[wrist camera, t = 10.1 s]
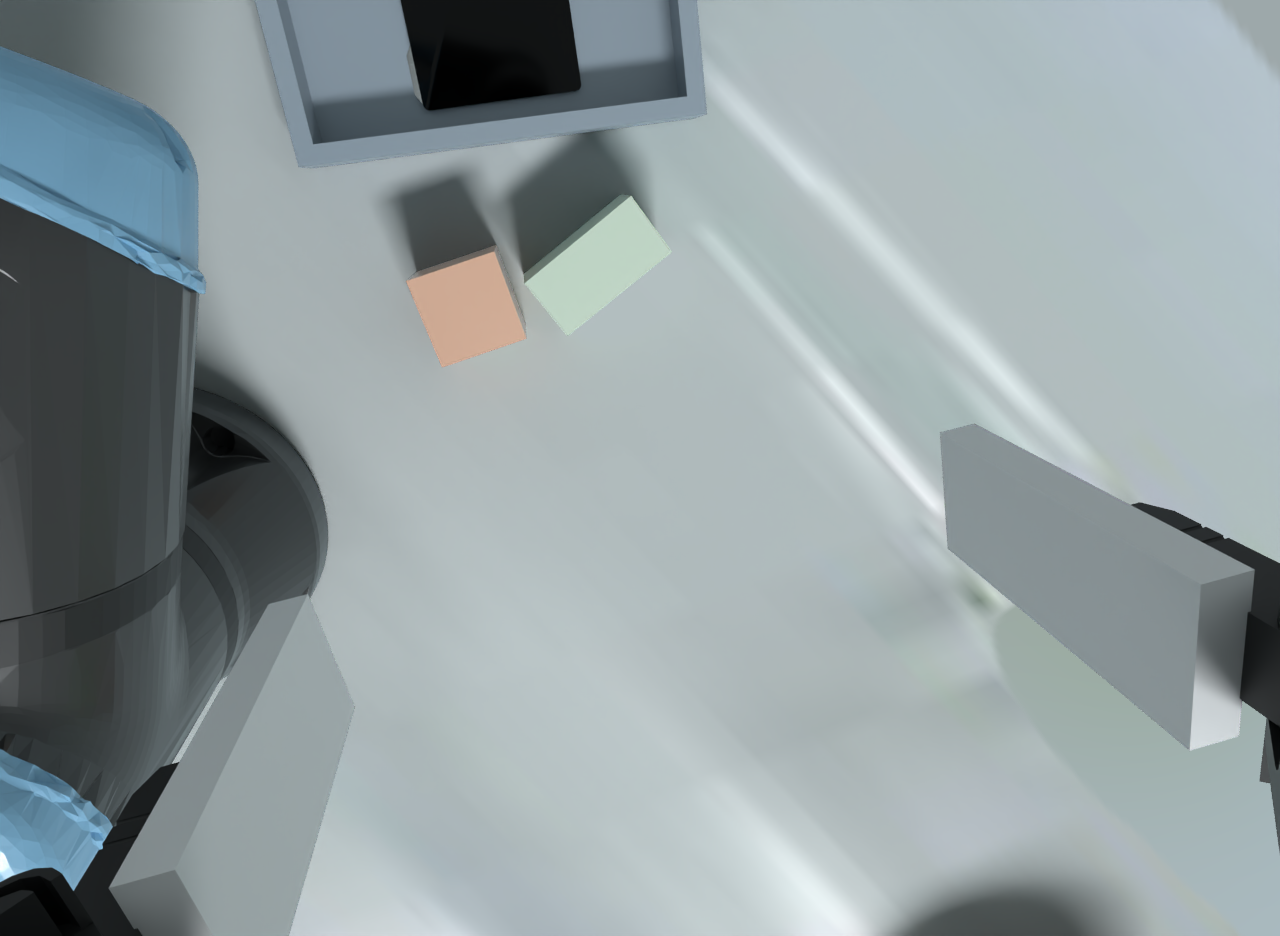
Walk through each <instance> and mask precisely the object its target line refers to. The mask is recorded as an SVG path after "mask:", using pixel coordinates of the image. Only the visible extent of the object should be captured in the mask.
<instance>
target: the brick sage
mask: <svg viewBox="0 0 1280 936" xmlns="http://www.w3.org/2000/svg"><path fill="white" fill-rule="evenodd" d="M671 252H672V251H671V250H670V249H669V247H668V246H667V244H666V243H665V242H664V240H663V239H662V238H661V236H660V235H659V233H658V232H657V231H656V229H655V228H654V226H653V225H652V224H651V222H650V221H649V220H648V218H647V217H646V215H645V214H644V213H643V211H642V210H641V208H640V207H639V206H638V204H637V203H636V202H635V200H634V199H633V197H632V196H630V195H621V194H620V195H619V196H618V197H617V198H615V199H614V200H613V201H612V202H611V203H609V204H608V205H607V206H606V207H604V208H603V209H602V210H601V211H600V212H598V213H597V214H596V215H595V216H594V217H592V218H591V219H590V220H589V221H587V222H586V223H585V224H584V225H583V226H581V227H580V228H579V229H578V230H577V231H575V232H574V233H573V234H572V235H570V236H569V237H568V238H567V239H566V240H564V241H563V242H562V243H561V244H560V245H558V246H557V247H556V248H555V249H553V250H552V251H551V252H550V253H549V254H547V255H546V256H545V257H544V258H542V259H541V260H540V261H539V262H538V263H536V264H535V265H534V266H533V267H532V268H530V269H529V270H528V271H527V272H525V273H524V284H525V285H526V286H527V287H528V289H529V290H530V291H531V292H532V293H533V295H534V296H535V297H536V298H537V300H538V301H539V302H540V303H541V304H542V306H543V307H544V308H545V309H546V311H547V312H548V313H549V314H550V315H551V317H552V318H553V319H554V320H555V322H556V323H557V324H558V325H559V326H560V328H561V329H562V330H563V331H564V333H565V334H566V335H567V336H569V335H570V334H571V333H572V332H574V331H575V330H576V329H577V328H579V327H580V326H581V325H582V324H583V323H585V322H586V321H587V320H588V319H590V318H591V317H592V316H593V315H595V314H596V313H597V312H598V311H600V310H601V309H602V308H603V307H605V306H606V305H607V304H608V303H609V302H611V301H612V300H613V299H614V298H616V297H617V296H618V295H619V294H621V293H622V292H623V291H624V290H626V289H627V288H628V287H629V286H631V285H632V284H633V283H634V282H636V281H637V280H638V279H639V278H640V277H642V276H643V275H644V274H645V273H647V272H648V271H649V270H650V269H652V268H653V267H654V266H655V265H657V264H658V263H659V262H660V261H662V260H663V259H664V258H665V257H666V256H668V255H669V254H670V253H671Z"/></svg>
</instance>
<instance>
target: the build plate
mask: <svg viewBox="0 0 1280 936" xmlns="http://www.w3.org/2000/svg"><path fill="white" fill-rule="evenodd" d="M401 4H402V9H403V14H404V19H405V23H406V28H407V33H408V37H409V42H410V46H409V50H408V53H407V61H408V65H409V70H410V75H411V79H412V84H413V89H414V93H415V96H416V97H417V98H418V99H419V100H420V102H421V103H422V104H423V107H424V108H425V109H426V110H428V111H435V110H442V109H450V108H457V107H464V106H472V105H479V104H487V103H494V102H502V101H509V100H516V99H524V98H531V97H539V96H546V95H554V94H561V93H569V92H576V91H578V90H579V89H580V88H581V79H580V72H579V65H578V58H577V51H576V44H575V38H574V31H573V24H572V17H571V10H570V3H569V0H401Z"/></svg>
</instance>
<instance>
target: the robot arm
mask: <svg viewBox="0 0 1280 936" xmlns="http://www.w3.org/2000/svg"><path fill="white" fill-rule="evenodd" d="M205 290H206V281H205V279H204V276H203V275H202V273H201V272H200V271H199V270H198V174H197V169H196V165H195V162H194V159H193V156H192V154H191V152H190V150H189V148H188V146H187V144H186V143H185V141H184V140H183V138H182V137H181V136H180V134H179V133H178V132H177V131H176V130H175V129H174V128H173V127H172V125H171V124H169V123H168V122H167V121H166V120H165V119H164V118H163V117H162V116H160V115H159V114H158V113H156V112H155V111H154V110H152V109H150V108H149V107H147V106H145V105H144V104H142V103H140V102H138V101H136V100H134V99H132V98H130V97H128V96H125V95H123V94H121V93H118V92H116V91H114V90H111V89H109V88H106V87H104V86H101V85H99V84H97V83H94V82H92V81H89V80H87V79H85V78H82V77H80V76H77V75H75V74H72V73H69V72H67V71H64V70H62V69H59V68H57V67H54V66H51V65H49V64H46V63H44V62H41V61H38V60H36V59H33V58H30V57H28V56H25V55H22V54H20V53H17V52H15V51H12V50H9V49H7V48H4V47H1V46H0V936H289V933H290V930H291V926H292V923H293V919H294V916H295V912H296V909H297V905H298V902H299V899H300V895H301V892H302V888H303V885H304V881H305V878H306V874H307V871H308V867H309V864H310V861H311V857H312V854H313V850H314V847H315V843H316V840H317V836H318V833H319V829H320V826H321V823H322V819H323V816H324V812H325V809H326V805H327V802H328V798H329V795H330V791H331V788H332V785H333V781H334V778H335V774H336V771H337V767H338V764H339V760H340V757H341V753H342V750H343V747H344V743H345V740H346V736H347V733H348V729H349V726H350V722H351V719H352V715H353V712H354V709H355V706H354V703H353V701H352V699H351V696H350V694H349V691H348V689H347V687H346V684H345V682H344V679H343V677H342V675H341V672H340V670H339V667H338V665H337V663H336V660H335V658H334V655H333V653H332V651H331V648H330V646H329V643H328V641H327V639H326V636H325V634H324V631H323V629H322V627H321V624H320V622H319V619H318V617H317V615H316V612H315V610H314V607H313V605H312V603H311V600H310V598H311V596H312V594H313V592H314V590H315V588H316V586H317V584H318V582H319V579H320V577H321V574H322V571H323V568H324V564H325V560H326V555H327V547H328V525H327V518H326V512H325V508H324V504H323V501H322V498H321V495H320V492H319V489H318V487H317V485H316V482H315V481H314V479H313V477H312V475H311V473H310V471H309V470H308V468H307V466H306V465H305V463H304V462H303V460H302V459H301V458H300V456H299V455H298V454H297V452H296V451H295V450H294V449H293V448H292V447H291V445H290V444H289V443H288V442H287V441H286V440H285V439H284V438H283V437H282V436H281V435H280V434H279V433H278V432H276V431H275V430H274V429H273V428H272V427H271V426H269V425H268V424H267V423H266V422H264V421H263V420H262V419H260V418H259V417H257V416H256V415H254V414H253V413H251V412H249V411H248V410H246V409H244V408H243V407H241V406H239V405H237V404H235V403H233V402H231V401H229V400H227V399H224V398H222V397H220V396H217V395H214V394H212V393H209V392H206V391H202V390H199V389H196V388H193V386H194V370H195V353H196V337H197V320H198V304H199V293H200V294H205ZM940 440H941V455H942V470H943V485H944V500H945V515H946V529H947V544H948V549H949V550H950V551H951V552H953V553H954V554H955V555H956V556H957V557H959V558H960V559H961V560H962V561H963V562H965V563H966V564H967V565H968V566H969V567H971V568H972V569H973V570H974V571H975V572H976V573H978V574H979V575H980V576H981V577H982V578H984V579H985V580H986V581H987V582H988V583H990V584H991V585H992V586H993V587H994V588H996V589H997V590H998V591H999V592H1000V593H1002V594H1003V595H1004V596H1005V597H1006V598H1008V599H1009V600H1010V601H1011V602H1012V603H1014V604H1015V605H1016V606H1017V607H1018V608H1020V609H1021V610H1022V611H1023V612H1024V613H1026V614H1027V615H1028V616H1029V617H1030V618H1032V619H1033V620H1034V621H1035V622H1036V623H1037V624H1039V625H1040V626H1041V627H1042V628H1044V629H1045V630H1046V631H1047V632H1048V633H1049V634H1051V635H1052V636H1053V637H1054V638H1055V639H1057V640H1058V641H1059V642H1060V643H1061V644H1063V645H1064V646H1065V647H1066V648H1068V649H1069V650H1070V651H1071V652H1072V653H1073V654H1075V655H1076V656H1077V657H1078V658H1079V659H1081V660H1082V661H1083V662H1084V663H1085V664H1087V665H1088V666H1089V667H1090V668H1091V669H1092V670H1094V671H1095V672H1096V673H1097V674H1098V675H1100V676H1101V677H1102V678H1103V679H1105V680H1106V681H1107V682H1108V683H1109V684H1111V685H1112V686H1113V687H1114V688H1115V689H1117V690H1118V691H1119V692H1120V693H1121V694H1122V695H1124V696H1125V697H1126V698H1127V699H1129V700H1130V701H1131V702H1132V703H1133V704H1134V705H1136V706H1137V707H1138V708H1139V709H1140V710H1142V711H1143V712H1144V713H1145V714H1146V715H1148V716H1149V717H1150V718H1151V719H1152V720H1154V721H1155V722H1156V723H1157V724H1158V725H1159V726H1161V727H1162V728H1163V729H1165V730H1166V731H1167V732H1168V733H1169V734H1170V735H1171V736H1173V737H1174V738H1175V739H1176V740H1177V741H1179V742H1180V743H1181V744H1182V745H1183V746H1185V747H1186V748H1187V749H1189V750H1194V749H1197V748H1200V747H1204V746H1207V745H1211V744H1214V743H1217V742H1221V741H1224V740H1228V739H1231V738H1234V737H1237V736H1239V728H1240V717H1241V708H1242V701H1244V702H1245V703H1247V704H1248V705H1249V706H1251V707H1252V708H1254V709H1255V710H1256V711H1258V712H1259V713H1261V714H1262V715H1263V716H1265V717H1266V718H1267V720H1266V730H1265V738H1264V747H1263V756H1262V765H1261V774H1260V781H1261V782H1266V783H1270V784H1271V792H1272V799H1273V806H1274V814H1275V822H1276V829H1277V836H1278V844H1279V850H1280V563H1278V562H1276V561H1274V560H1272V559H1270V558H1268V557H1266V556H1264V555H1262V554H1260V553H1258V552H1256V551H1254V550H1252V549H1250V548H1248V547H1246V546H1244V545H1242V544H1240V543H1238V542H1236V541H1234V540H1232V539H1230V538H1227V539H1224V537H1223V535H1221V534H1219V533H1217V532H1215V531H1213V530H1211V529H1209V528H1207V527H1204V528H1202V526H1201V524H1199V523H1197V522H1195V521H1193V520H1191V519H1189V518H1187V517H1185V516H1183V515H1181V514H1179V513H1177V512H1175V511H1172V510H1168V509H1164V508H1160V507H1156V506H1152V505H1148V504H1144V503H1136V504H1132V505H1130V504H1128V503H1126V502H1124V501H1122V500H1120V499H1118V498H1116V497H1114V496H1112V495H1110V494H1109V493H1107V492H1105V491H1103V490H1101V489H1099V488H1097V487H1095V486H1093V485H1091V484H1089V483H1087V482H1086V481H1084V480H1082V479H1080V478H1078V477H1076V476H1074V475H1072V474H1070V473H1068V472H1066V471H1064V470H1062V469H1061V468H1059V467H1057V466H1055V465H1053V464H1051V463H1049V462H1047V461H1045V460H1043V459H1041V458H1039V457H1038V456H1036V455H1034V454H1032V453H1030V452H1028V451H1026V450H1024V449H1022V448H1020V447H1018V446H1016V445H1015V444H1013V443H1011V442H1009V441H1007V440H1005V439H1003V438H1001V437H999V436H997V435H995V434H993V433H991V432H990V431H988V430H986V429H984V428H982V427H980V426H978V425H976V424H971V425H967V426H964V427H960V428H956V429H952V430H948V431H944V432H940ZM226 676H228V677H227V679H226V681H225V682H224V684H223V686H222V688H221V689H220V691H219V693H218V695H217V697H216V698H215V700H214V702H213V704H212V705H211V707H210V709H209V711H208V713H207V714H206V716H205V718H204V720H203V721H202V723H201V725H200V727H199V729H198V730H197V732H196V734H195V736H194V737H193V739H192V741H191V743H190V744H189V746H188V748H187V750H186V752H185V753H184V755H183V757H182V759H181V760H180V762H178V763H174V764H172V762H173V760H174V759H175V757H176V755H177V754H178V752H179V750H180V748H181V747H182V745H183V743H184V742H185V740H186V738H187V736H188V735H189V733H190V731H191V730H192V728H193V726H194V724H195V723H196V721H197V719H198V718H199V716H200V714H201V712H202V711H203V709H204V707H205V706H206V704H207V702H208V700H209V699H210V697H211V695H212V694H213V692H214V690H215V688H216V686H217V684H218V683H219V681H220V680H222V679H223V678H225V677H226Z"/></svg>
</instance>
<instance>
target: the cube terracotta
mask: <svg viewBox="0 0 1280 936" xmlns="http://www.w3.org/2000/svg"><path fill="white" fill-rule="evenodd" d="M406 282H407V285H408V287H409V289H410V292H411V294H412V297H413V299H414V301H415V304H416V306H417V309H418V311H419V313H420V316H421V318H422V321H423V323H424V325H425V328H426V330H427V333H428V335H429V337H430V340H431V342H432V344H433V347H434V349H435V352H436V354H437V356H438V359H439V361H440V364H441V366H442V367H445V366H448V365H451V364H454V363H457V362H460V361H462V360H465V359H468V358H471V357H474V356H477V355H480V354H483V353H486V352H489V351H492V350H495V349H498V348H500V347H503V346H506V345H509V344H512V343H515V342H518V341H521V340H524V339H527V338H526V324H525V321H524V318H523V316H522V313H521V310H520V307H519V305H518V302H517V299H516V297H515V294H514V291H513V288H512V286H511V283H510V280H509V277H508V275H507V272H506V269H505V267H504V264H503V261H502V258H501V256H500V253H499V250H498V248H497V245H494V246H491V247H488V248H485V249H482V250H479V251H477V252H474V253H471V254H468V255H465V256H462V257H459V258H456V259H453V260H450V261H447V262H444V263H441V264H438V265H435V266H432V267H429V268H426V269H423V270H420V271H417V272H416V273H415V274H414V275H412V276H411V277H410V278H409V279H408V280H407V281H406Z"/></svg>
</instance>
